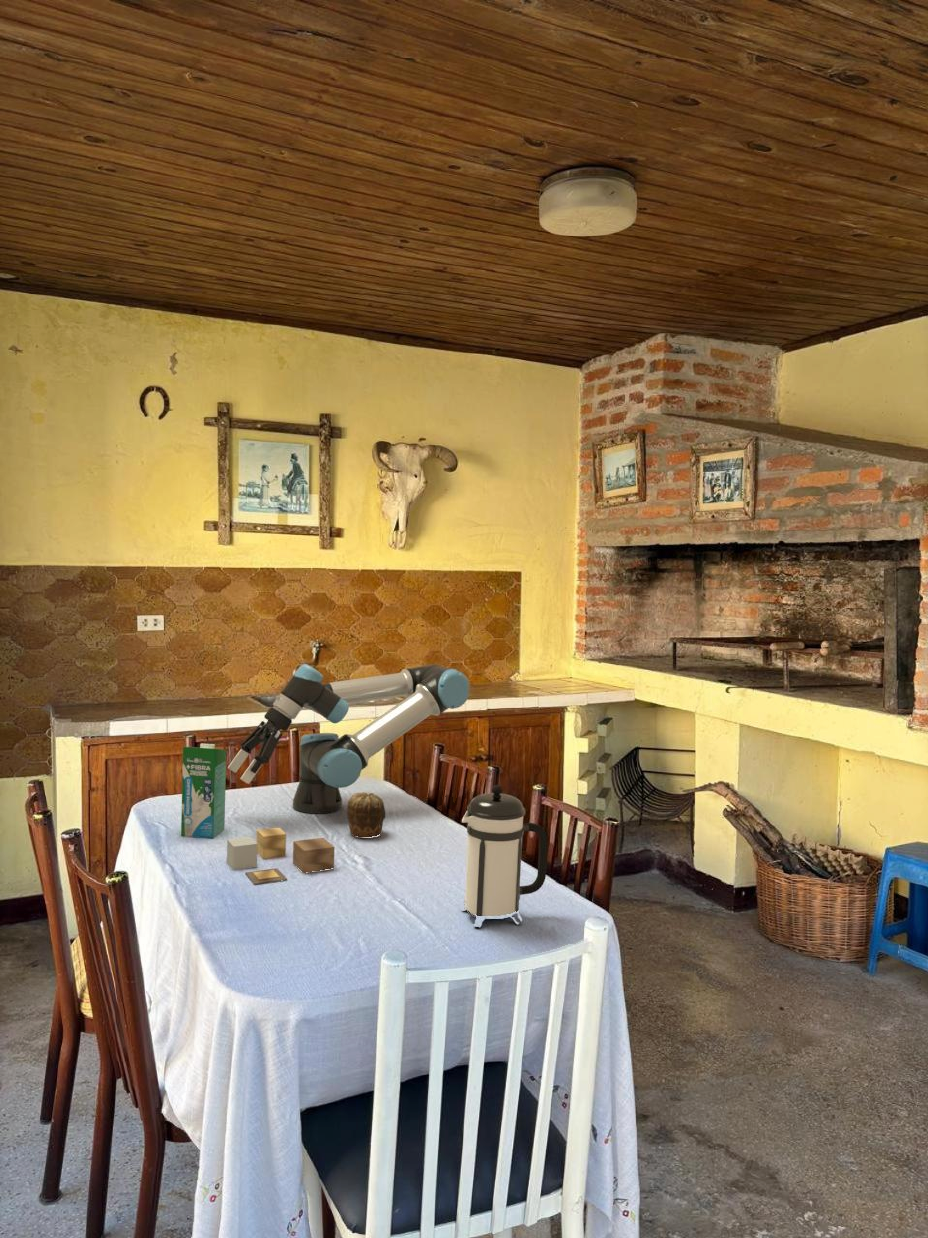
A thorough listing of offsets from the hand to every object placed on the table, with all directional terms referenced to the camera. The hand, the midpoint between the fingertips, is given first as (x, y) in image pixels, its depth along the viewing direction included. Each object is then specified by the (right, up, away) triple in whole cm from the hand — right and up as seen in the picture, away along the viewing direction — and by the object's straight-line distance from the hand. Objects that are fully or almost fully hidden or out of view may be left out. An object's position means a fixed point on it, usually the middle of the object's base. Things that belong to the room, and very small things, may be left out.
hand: (237, 776), depth 257 cm
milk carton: (-9, -15, -3) cm, 18 cm away
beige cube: (+8, -18, -27) cm, 33 cm away
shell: (+36, -17, +1) cm, 40 cm away
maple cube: (+13, -17, -18) cm, 28 cm away
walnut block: (+26, -19, -26) cm, 41 cm away
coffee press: (+71, -23, -53) cm, 91 cm away
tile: (+16, -19, -35) cm, 43 cm away
